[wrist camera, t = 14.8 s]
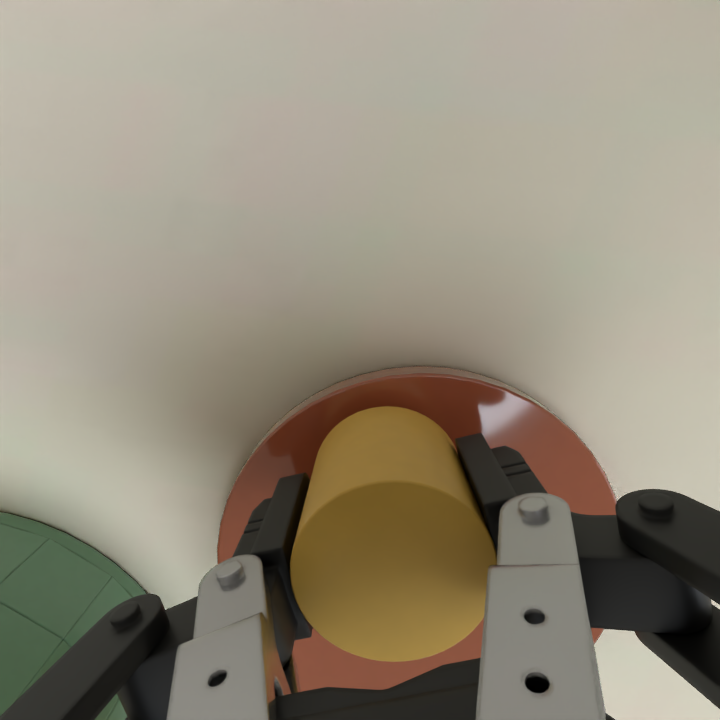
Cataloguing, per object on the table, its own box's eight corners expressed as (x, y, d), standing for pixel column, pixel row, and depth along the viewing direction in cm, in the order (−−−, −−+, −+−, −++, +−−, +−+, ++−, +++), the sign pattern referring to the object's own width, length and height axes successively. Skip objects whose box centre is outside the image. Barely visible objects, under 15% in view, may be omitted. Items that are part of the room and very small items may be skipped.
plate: (377, 280, 15) (377, 283, 14) (693, 517, 16) (713, 534, 15) (153, 584, 17) (141, 604, 16) (446, 763, 19) (450, 791, 18)
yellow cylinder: (372, 376, 13) (372, 439, 9) (490, 462, 14) (543, 559, 10) (286, 487, 14) (248, 592, 10) (400, 564, 15) (411, 695, 11)
